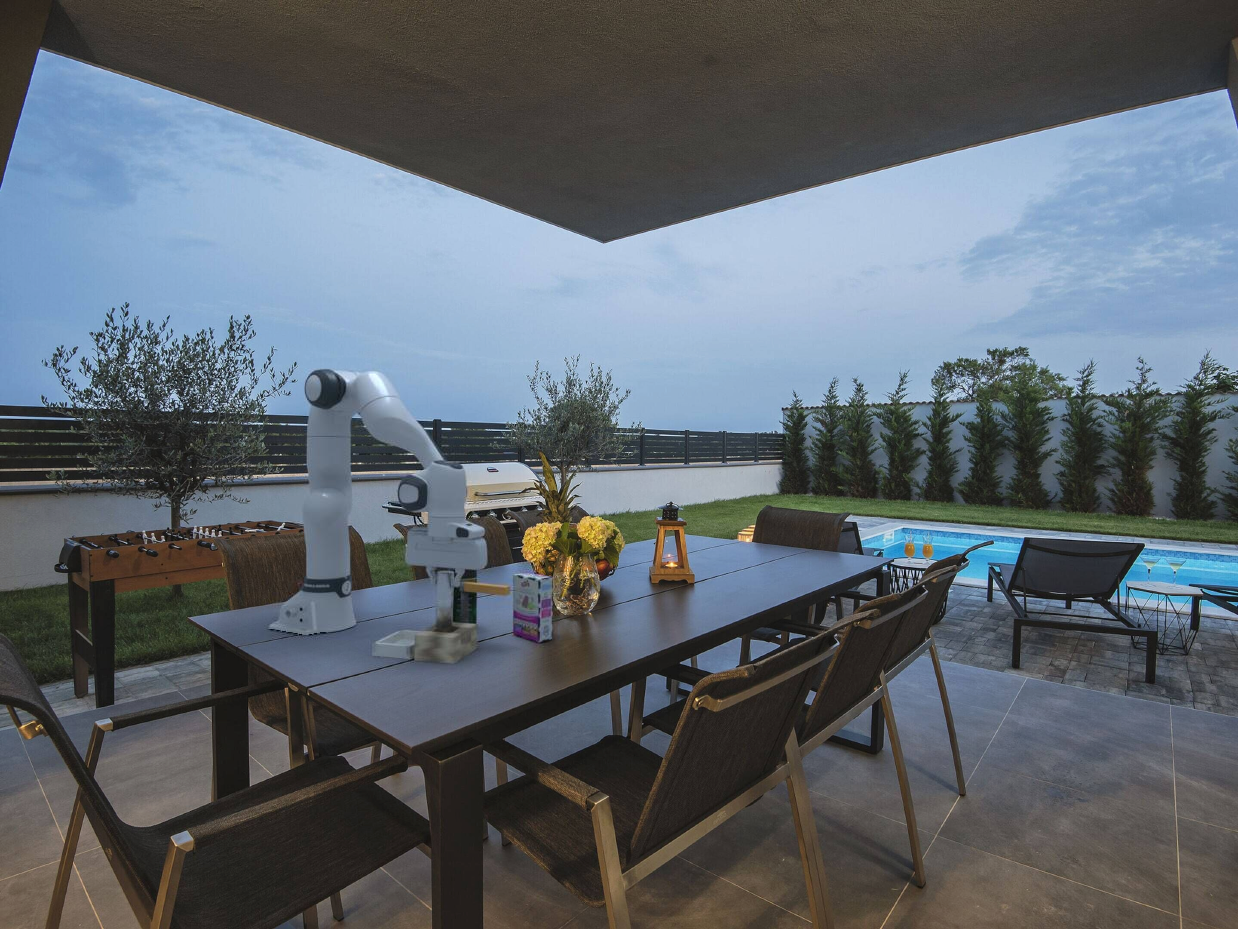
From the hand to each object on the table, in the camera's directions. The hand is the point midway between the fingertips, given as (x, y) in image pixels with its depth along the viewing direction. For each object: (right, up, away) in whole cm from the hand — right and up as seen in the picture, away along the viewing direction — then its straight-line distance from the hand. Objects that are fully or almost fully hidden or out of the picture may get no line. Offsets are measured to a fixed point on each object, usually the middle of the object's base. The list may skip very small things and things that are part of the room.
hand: (445, 585), depth 147 cm
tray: (-11, -16, +3) cm, 20 cm away
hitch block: (+1, -16, +3) cm, 17 cm away
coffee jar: (-1, -17, +20) cm, 26 cm away
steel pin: (0, -10, 0) cm, 10 cm away
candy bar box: (+19, -17, +14) cm, 29 cm away
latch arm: (+8, -3, +7) cm, 11 cm away
